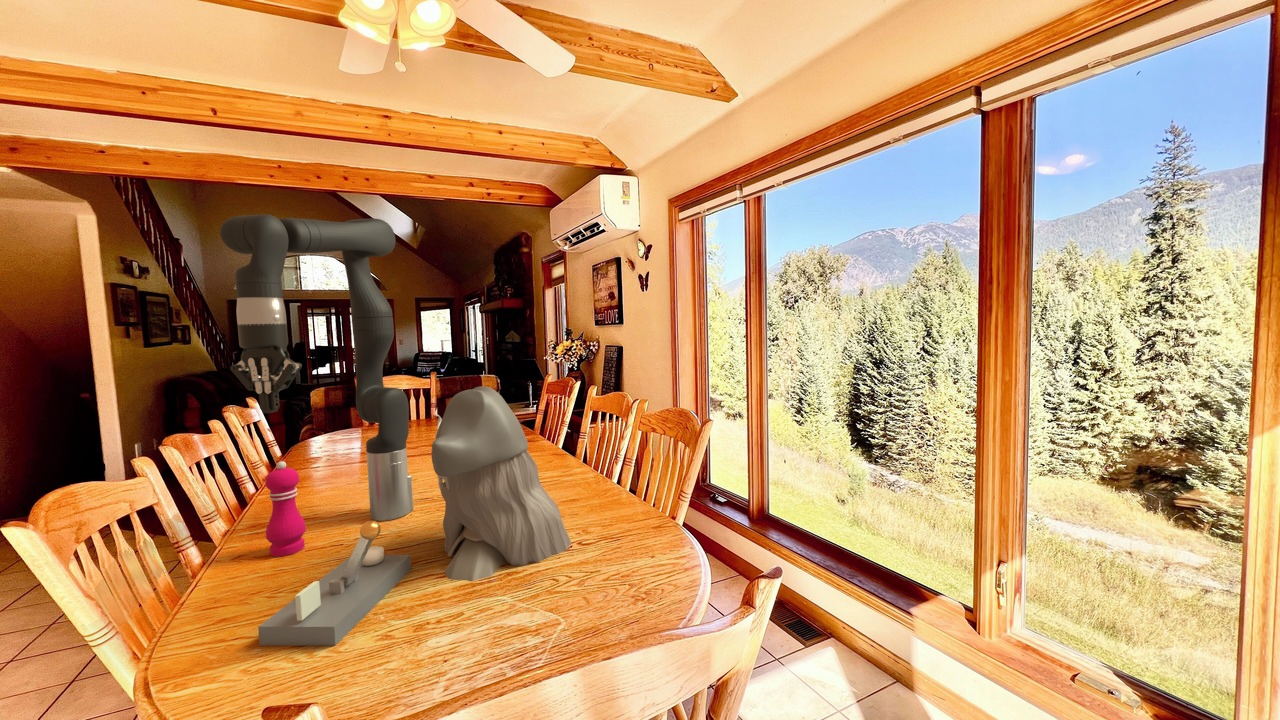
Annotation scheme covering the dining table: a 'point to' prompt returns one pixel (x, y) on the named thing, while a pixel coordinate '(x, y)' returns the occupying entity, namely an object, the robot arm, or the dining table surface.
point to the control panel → (336, 605)
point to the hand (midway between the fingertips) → (270, 412)
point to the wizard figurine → (491, 489)
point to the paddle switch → (307, 600)
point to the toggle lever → (360, 550)
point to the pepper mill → (284, 512)
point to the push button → (374, 556)
